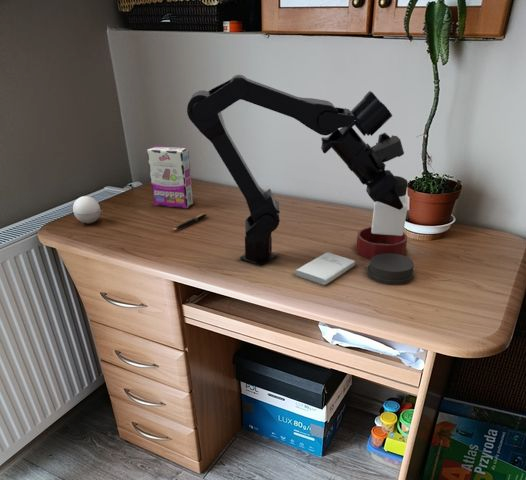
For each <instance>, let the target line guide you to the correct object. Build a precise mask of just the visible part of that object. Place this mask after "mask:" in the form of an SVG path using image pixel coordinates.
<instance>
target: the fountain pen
mask: <svg viewBox="0 0 526 480" xmlns="http://www.w3.org/2000/svg"><path fill="white" fill-rule="evenodd" d="M206 217H207V214H206V213H202V214H199V215H197V216H195V217H193V218H191V219H189V220H187V221H185V222H183V223H181V224H179V225H176V226H175V228H173V229H172V231H175V230H176V231H177V230H180V229H182V228H185V227H188V226H190V225H192V224H194V223H197V222H199V221H201V220H203V219H204V218H206Z"/></svg>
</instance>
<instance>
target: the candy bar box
mask: <svg viewBox="0 0 526 480" xmlns="http://www.w3.org/2000/svg"><path fill="white" fill-rule="evenodd" d="M146 153H147V160H148V161H147V162H148V168H149V176H150V183H151V189H152V197H153V205H154V206H156V207H163V208H164V207H165V208H175V209H188V208H190V207H191V206H193V205H194V196H193V195H194V194H193V185H192V175H191V173H192V172H191V164H190V163H191V162H190V151H189V148H188V147H171V146H152V147H150V148H148V149H146Z"/></svg>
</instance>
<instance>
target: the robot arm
mask: <svg viewBox="0 0 526 480" xmlns="http://www.w3.org/2000/svg"><path fill="white" fill-rule="evenodd" d="M240 100H241V101H245V102H248V103H250V104H252V105H253V104H254V105H256V106H258V107H262V108H264V109H267V110H270V111H272V112H276V113H279V114H282V115H284V116H286V117H290V118H292V119H294V120H296V121H298V122H299V123H300V124H302V125H303V126H305V127H306V128H308V129H310V130H311V131H313V132H315V133H316V134H318V135H321V136H323V137H321V146H320V149H321V152H322V153H323V154H327V153H328V152H329V151H330V150H331V149H332V150H333V151H334V153H335V154H336V155H337V156H338V157H339V158H340V160H341V161H343V162H344V164H345V165H346V166H347V168H348V169H349V170H350V172H352V174H354V175H355V177H356V178H357V179H358V181H360V183H361V184H362V185H363V186H364V185H366V189H365V191H366V194H367V195H368V196H369V198H370V199H371V200H372V201H373V203H375V202H377V201H378V202H381V203H384V204H386V205H389V206H391V207H394V208H396V209H399V210H400V209H402V208H403V204H402V202H401V200H400V198H399V196H398V194H397V192H396V190H395V187H396V184H397V183H398V180H397V179H396V178H395V176H396V175H394V174H393V172H392V171H390V170H389V169H386V166H387V165H386V162H389V161H392V160H393V159H396V158H400V157H402V156H403V155H405V151H404V148H403V145H402V141H401V138H399V137H398V136H397V135H394V134H392V135H391V136H390V135H389V134H388V133H386V132H383V133H380V134H379V135H378V139H377V142H376V143H375V144H374V145H373V146H370V144H369V142H367V143H366V142H365V141H364V140H363V138H362V137H361V136H360V135H359V134H358V132H357V131H356V130H355V129H354V128H353V127H354V126H355V127H356V128H357V130H358V131H359V132H360V133H361V134H362V136H363V137H365V136H366V135H367V136H368V137H369V136H371V137H372V136H373V135H374V134H375V133H377V131H378V130H380V129H381V127H383V126H384V125H385V124H386V123H387V122H388V121H389V120H390V119H392V117H393V114H392V113H391V110H389V109H388V107H387V106H386V104H384V103H383V102H382V101H381V100H380V99H379V98H378V97H377V96H376V95H375V94H374V92H373V91H371V90H369V91H368V92H366V94H365V95H364V96H363V98H362V99H361V100H360V101H359V102H358V103H357V104H356V105H355V106H354V107H353V108H352V109H351V110H350V109H349V108H346V107H339V106H338V107H337V106H335V105H334V104H333V103H332V102H331V101H329V100H326V99H320V98H312V97H300V96H297V95H293V94H291V93H288V92H285V91H283V90H280V89H277V88H274V87H271V86H269V85H266V84H263V83H260V82H259V81H255V80H253V79H250V78H247V77H246V76H244V75H242V74H236V75H234V76H233V77H231V78H230V79H229V80H227V81H225V82H223V83H221V84H219V85H217V86H215V87H213V88H211V89H209V90H206V89H205V90H204V89H203V90H197V91H196V92H194V93H193V94H192V95H191V97H190V99H189V101H188V103H187V107H186V108H187V109H186V113H187V117H188V119H189V121H190V122H191V123H192V124H193V125H194V126H195V128H197V130H198V131H199V133H201V134H202V136H204V137H205V138H206V139H207V140H208V141H209V142H210V143H211V144H212V146H213V147H214V149H215V151H216V152H217V154H218V156H219V157H220V159H221V160H222V162H223V165H224V166H225V167H226V169H227V170H228V172H229V174H230V175H231V177H232V179H233V180H234V182H235V184H236V185H237V187H238V189H239V191H240V192H241V194H242V195H243V197H244V199H245V201H246V204H247V208H248V210H249V214H250V215H249V216H248V217H247V218H245V228H244V229H245V232H244V233H245V236H244V255H242V256H240V261H244V262H247V263H250V264H253V265H256V266H260V267H262V266H264V265H266V264H267V263H269V262H270V261H272V260H274V259H276V258H277V254H275V253H273V250H272V248H273V247H272V242H273V237H272V233H273V232H274V231H276V230H277V229H278V227H279V225H280V220H281V219H280V214H281V213H280V212H281V210H280V203H279V201H277V199H275V197H274V194H273V192H272V189H271V188H269V189H267V190H266V191H265V190H264V189H263V188H262V187H261V186H260V185H259V184H258V182H257V180H256V178H255V177H254V175H253V173H252V172H251V170H250V168H249V166H248V165H247V162H246V161H245V159H244V158H243V155H242V154H241V152H240V151H239V149H238V147H237V145H236V144H235V142H234V139H232V137H231V135H230V134H229V131H228V130H227V127H226V124H225V120H224V118H223V115H222V112H223V111H224V110H226V109H227V108H229V107H230V106H232V105H233V104H235V103H236V102H238V101H240Z"/></svg>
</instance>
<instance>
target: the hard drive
mask: <svg viewBox="0 0 526 480" xmlns="http://www.w3.org/2000/svg"><path fill="white" fill-rule="evenodd" d="M355 266H356V261H355V260H354V259H351V258H347V257H344V256H341V255H337V254H334V253H331V252H329V251H327V252H324V253H323V254H321V255H319V256H318V257H316V258H314V259H313V260H310V261H309V262H307V263H305V264H304V265H302V266H301V267H298V268H297V269H295V270H294V271H295V273H294V274H295V276H296V277H298V278H301V279H304V280H306V281H310V282H313V283H316V284H319V285H322V286H327V285H328V284H329V283H331V282H332V281H334V280H336V279H337V278H339V277H340V276H341V275H343V274H345V273H346V272H347V271H349V270H350V269H352V268H354V267H355Z"/></svg>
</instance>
